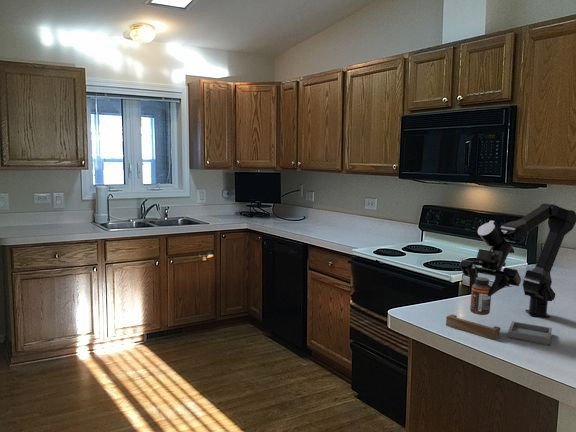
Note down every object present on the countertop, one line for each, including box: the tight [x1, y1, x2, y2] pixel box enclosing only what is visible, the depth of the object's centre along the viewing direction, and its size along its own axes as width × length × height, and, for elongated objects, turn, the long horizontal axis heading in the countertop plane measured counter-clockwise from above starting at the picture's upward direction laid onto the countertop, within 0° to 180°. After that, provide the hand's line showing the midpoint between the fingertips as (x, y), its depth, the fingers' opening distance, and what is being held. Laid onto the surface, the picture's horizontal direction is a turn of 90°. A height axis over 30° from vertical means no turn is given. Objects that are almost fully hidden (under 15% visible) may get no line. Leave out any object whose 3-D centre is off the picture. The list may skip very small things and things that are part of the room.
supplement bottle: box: [469, 276, 492, 316], centre depth 161 cm, size 6×6×11 cm
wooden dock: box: [445, 313, 501, 340], centre depth 159 cm, size 4×16×3 cm, turn 43°
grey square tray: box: [507, 320, 553, 346], centre depth 156 cm, size 12×12×2 cm
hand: (479, 293), depth 160 cm, fingers closed on supplement bottle, 6 cm apart
